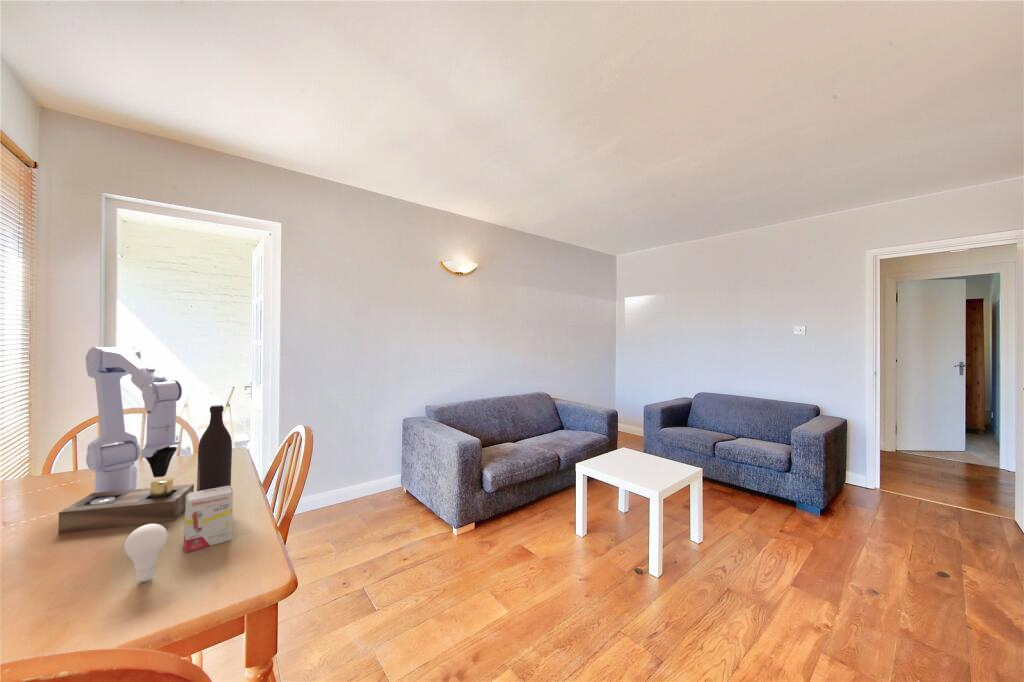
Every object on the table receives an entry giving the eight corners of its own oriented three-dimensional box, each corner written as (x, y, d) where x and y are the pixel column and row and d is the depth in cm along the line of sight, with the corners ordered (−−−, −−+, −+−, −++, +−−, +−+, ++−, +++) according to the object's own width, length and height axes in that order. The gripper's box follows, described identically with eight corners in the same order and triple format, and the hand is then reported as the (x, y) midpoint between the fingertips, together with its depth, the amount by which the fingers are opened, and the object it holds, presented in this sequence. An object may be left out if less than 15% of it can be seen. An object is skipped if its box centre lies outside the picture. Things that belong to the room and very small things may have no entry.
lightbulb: (142, 571, 77) (144, 518, 77) (174, 571, 78) (176, 517, 77) (113, 591, 71) (115, 533, 71) (148, 591, 71) (150, 533, 71)
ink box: (184, 553, 84) (186, 500, 84) (183, 544, 87) (185, 493, 87) (232, 540, 90) (233, 490, 90) (229, 532, 93) (230, 484, 93)
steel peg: (96, 516, 99) (97, 497, 99) (118, 514, 100) (119, 495, 100) (84, 524, 95) (85, 504, 95) (108, 521, 96) (108, 502, 96)
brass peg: (155, 497, 103) (155, 479, 103) (175, 495, 105) (176, 477, 105) (146, 503, 99) (147, 485, 99) (167, 501, 101) (168, 483, 101)
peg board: (91, 511, 101) (92, 492, 101) (193, 501, 109) (193, 484, 109) (58, 533, 90) (58, 512, 90) (173, 520, 98) (174, 501, 98)
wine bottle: (218, 510, 104) (221, 402, 104) (236, 515, 102) (239, 404, 102) (189, 522, 97) (192, 406, 97) (207, 527, 95) (211, 409, 95)
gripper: (166, 431, 96) (165, 484, 96) (191, 419, 110) (190, 466, 110) (131, 433, 94) (129, 487, 94) (160, 420, 107) (159, 468, 107)
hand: (159, 476), depth 102 cm, fingers closed
